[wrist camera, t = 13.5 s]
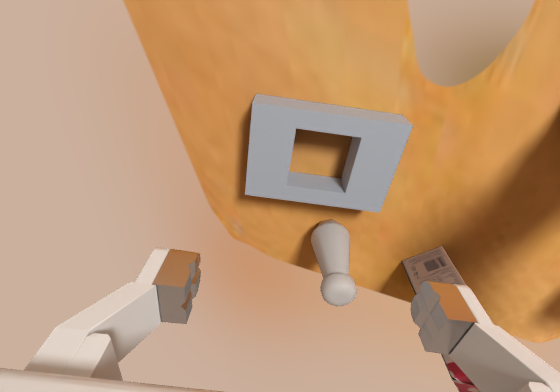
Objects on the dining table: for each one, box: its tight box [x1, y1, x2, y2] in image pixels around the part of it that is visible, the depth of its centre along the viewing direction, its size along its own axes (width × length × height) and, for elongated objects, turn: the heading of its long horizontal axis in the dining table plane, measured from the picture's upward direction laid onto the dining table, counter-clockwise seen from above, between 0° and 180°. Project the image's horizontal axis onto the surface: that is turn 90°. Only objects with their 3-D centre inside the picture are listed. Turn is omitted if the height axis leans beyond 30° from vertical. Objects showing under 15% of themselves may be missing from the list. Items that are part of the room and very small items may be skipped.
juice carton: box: [402, 246, 480, 392], centre depth 40 cm, size 7×7×22 cm
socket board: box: [245, 94, 413, 213], centre depth 38 cm, size 18×12×4 cm, turn 82°
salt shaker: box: [311, 219, 357, 306], centre depth 41 cm, size 6×6×13 cm
